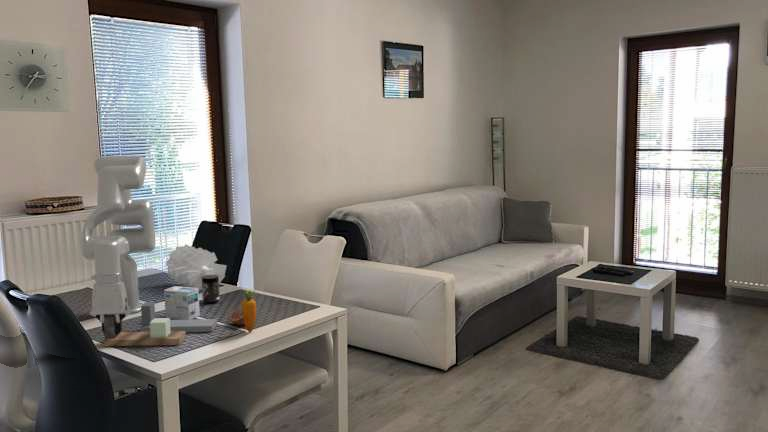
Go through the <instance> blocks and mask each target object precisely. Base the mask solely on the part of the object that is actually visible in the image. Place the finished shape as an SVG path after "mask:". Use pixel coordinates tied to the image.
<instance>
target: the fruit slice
mask: <svg viewBox="0 0 768 432" xmlns="http://www.w3.org/2000/svg"><path fill="white" fill-rule="evenodd" d="M228 320H229V321H230V322H231V323H232V324H234V325H237V326H238V325H239V326H242V325H245V324H244V320H243V316H242V311H240V310H238V309H235V308H233V310H232V311H231V312H230V314H229V317H228Z"/></svg>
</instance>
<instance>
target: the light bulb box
mask: <svg viewBox="0 0 768 432" xmlns="http://www.w3.org/2000/svg"><path fill="white" fill-rule="evenodd" d="M199 294H200V293H199V291H198V288H195V287H192V288H190V287H189V286H188V287H187V286H178V285H177V286H176V285H174V286H172V287H168V288H166V289H164V290H163V295H164V296H163V297H164V309H165V311H164V312H165V318H170V319H172V320H192V319H195V318H197V317H200V316H201V313H200V299H199V297H200V296H199Z"/></svg>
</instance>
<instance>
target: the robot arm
mask: <svg viewBox="0 0 768 432" xmlns="http://www.w3.org/2000/svg"><path fill="white" fill-rule="evenodd" d="M93 166H94V170H95V173H96V174H97V200H96V201H97V205H96V208H95V210H94V211H92V212H91V213H90V215H89V216H88V217H87V219H86V220H85V222H84V224H83V226H82V230H81V231H82V232H81V253H82V256H83V257H84V258H85V259H86V260H90V261H93V260H94V270H95V274H94V275H93V274H92V275H91V280H94V282H95V283H93V286H92V291H91V293H92V294H91V295H92V296H91V310H90V311H89V315H90V316H92V317H94V318H96V319H97V320H98V321H99V322H100V324H101V332H103V335H104V336H105V331H104V317H105V316H106V315H109V314H115V317H116V323H115V334H116V335H118V334H119V333H120V332H122V331H123V323H122V322H123V320H124V319H125V318H126V317H127V316H128V317H129V316H130V315H131V314H135V313H139V312H141V306H142V305H143V304H144V303H140V294H139V278H138V264H137V261H136V260H135V259H134V258H133V257H132V255H130V254H143V253H150V252H153V251H154V249H155V248H156V230H155V217H154V216H155V215H154V208H153V205H152V203H151V201H150V200H147V199H133V198H132V192H131V190H140V189H142V187H143V186H144V184H145V178H146V173H147V163H146V160H145V158H144V157H143V156H141V155H107V156H104V155H103V156H100V157H97V158H96V159H95V160H94V164H93ZM105 221H109V224H111V225H113V226H138V225H139V226H140V227H132V228H131V227H128V228H127V227H126V228H124V227H123V228H116V229H112V230H109V231H108V232H107V233H106V234H105V235H103V236H93V231H94V230H95V229H96V227H97V226H98V225H100V224H102V223H103V222H105Z"/></svg>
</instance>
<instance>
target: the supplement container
mask: <svg viewBox="0 0 768 432" xmlns="http://www.w3.org/2000/svg"><path fill="white" fill-rule="evenodd" d="M201 280H202V290H201V293H202V294H201V295H202V296H201V297H202V303H204V304H206V305H213V304H217V303H219V302H220V300H221V299H220V297H221V296H220V283H219V276H218V275H205V276H202V277H201Z"/></svg>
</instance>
